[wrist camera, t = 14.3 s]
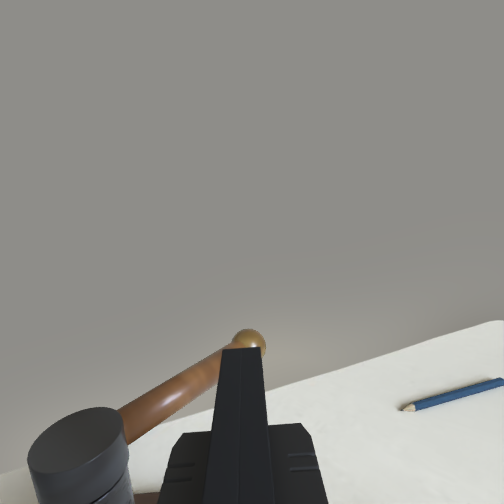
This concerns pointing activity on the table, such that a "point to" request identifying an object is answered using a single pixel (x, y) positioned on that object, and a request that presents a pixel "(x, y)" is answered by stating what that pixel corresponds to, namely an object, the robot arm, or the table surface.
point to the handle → (115, 433)
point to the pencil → (454, 395)
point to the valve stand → (126, 493)
